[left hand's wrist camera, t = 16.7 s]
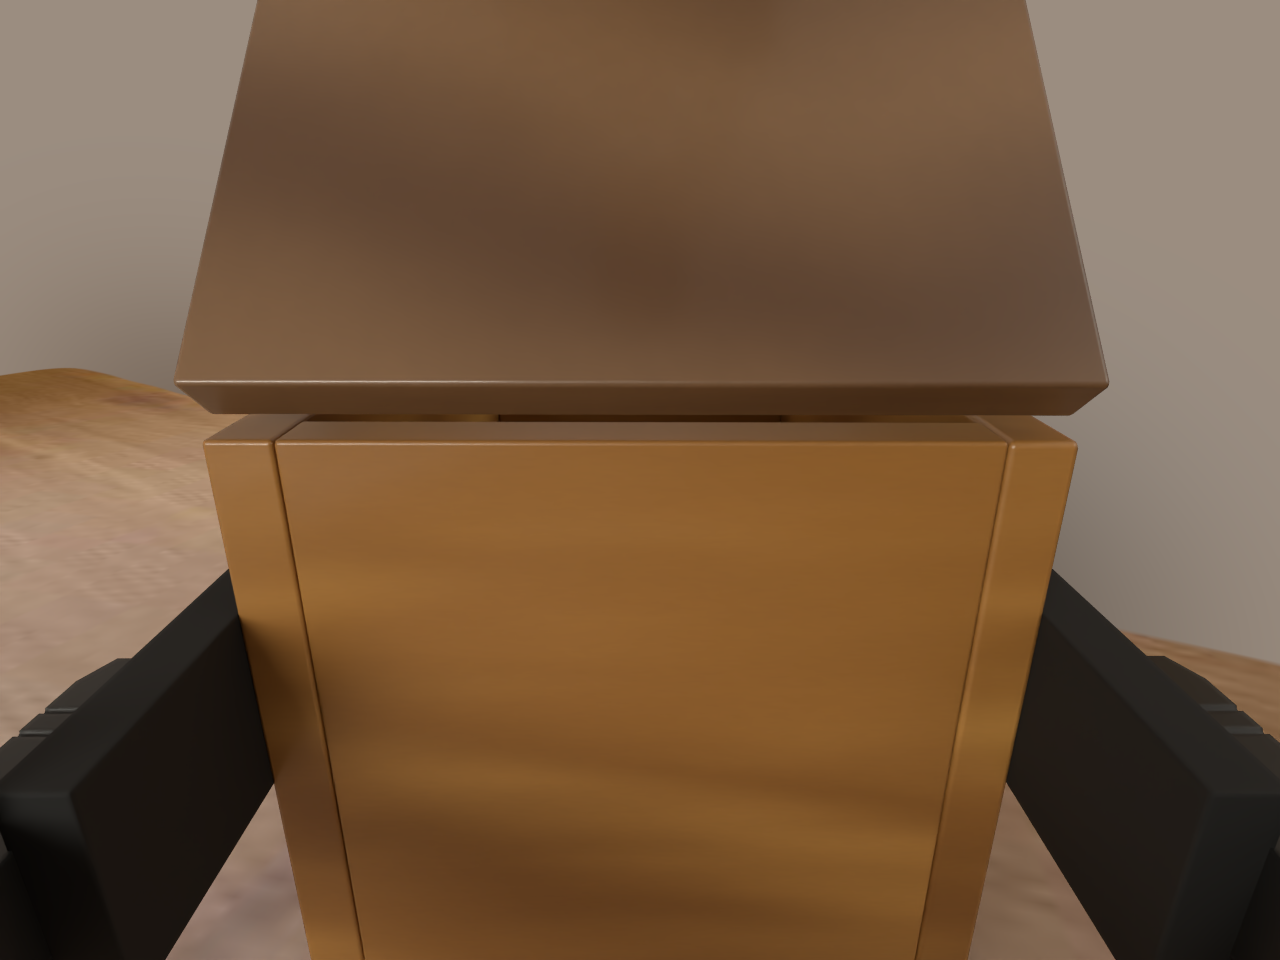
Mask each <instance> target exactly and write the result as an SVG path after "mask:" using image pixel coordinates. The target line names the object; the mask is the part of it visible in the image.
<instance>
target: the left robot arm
mask: <svg viewBox="0 0 1280 960" xmlns="http://www.w3.org/2000/svg"><path fill="white" fill-rule="evenodd" d="M19 732H20V734H19V736H18V737H12V738H11V739H10V740H9V741H7V742H6V743H5V744H4V745H3V746H2V747H1V748H0V960H165V959H166V958H167V956H168V954H169V953H170V951H171V950H172V948H173V946H174V945H175V943H176V941H177V940H178V938H179V937H180V935H181V933H182V932H183V930H184V928H185V927H186V925H187V923H188V922H189V920H190V919H191V917H192V915H193V914H194V912H195V910H196V909H197V907H198V906H199V904H200V902H201V901H202V899H203V897H204V896H205V894H206V893H207V891H208V889H209V888H210V886H211V884H212V883H213V881H214V880H215V878H216V876H217V875H218V873H219V871H220V870H221V868H222V867H223V865H224V863H225V862H226V860H227V858H228V857H229V855H230V854H231V852H232V850H233V849H234V847H235V845H236V844H237V842H238V841H239V839H240V837H241V836H242V834H243V832H244V831H245V829H246V828H247V826H248V824H249V823H250V821H251V819H252V818H253V816H254V815H255V813H256V811H257V810H258V808H259V806H260V805H261V803H262V802H263V800H264V798H265V797H266V795H267V793H268V792H269V790H270V789H271V787H272V785H273V784H274V780H273V776H272V771H271V766H270V761H269V757H268V752H267V747H266V742H265V738H264V733H263V728H262V723H261V719H260V714H259V709H258V704H257V700H256V695H255V690H254V685H253V681H252V676H251V671H250V666H249V662H248V657H247V652H246V647H245V643H244V638H243V633H242V628H241V624H240V619H239V614H238V609H237V605H236V600H235V595H234V590H233V586H232V581H231V576H230V571H229V569H228V570H227V571H226V572H225V573H224V574H222V575H221V576H220V577H219V578H218V579H217V580H216V581H215V582H214V583H213V584H212V585H211V586H209V587H208V588H207V589H206V590H205V591H204V592H203V593H202V594H201V595H200V596H199V597H198V598H196V599H195V600H194V601H193V602H192V603H191V604H190V605H189V606H188V607H187V608H186V609H185V610H183V611H182V612H181V613H180V614H179V615H178V616H177V617H176V618H175V619H174V620H173V621H172V622H171V623H169V624H168V625H167V626H166V627H165V628H164V629H163V630H162V631H161V632H160V633H159V634H158V635H156V636H155V637H154V638H153V639H152V640H151V641H150V642H149V643H148V644H147V645H146V646H145V647H143V648H142V649H141V650H140V651H139V652H138V653H137V654H136V655H135V656H134V657H133V658H125V659H116V660H114V661H112V662H110V663H109V664H107V665H105V666H103V667H101V668H100V669H98V670H96V671H94V672H92V673H90V674H89V675H87V676H85V677H83V678H81V679H80V680H78V681H76V682H75V683H74V684H73V685H71V686H70V687H69V688H68V689H67V690H66V691H65V692H63V693H62V694H61V695H60V696H59V697H58V698H57V699H55V700H54V701H53V702H52V703H51V704H50V705H49V706H47V707H46V708H45V713H44V714H38V715H37V716H36V717H35V718H34V719H33V720H31V721H30V722H29V723H28V724H27V725H26V726H25V727H23V728H22V729H21V730H20V731H19ZM1006 782H1007V784H1008V786H1009V787H1010V789H1011V791H1012V792H1013V794H1014V795H1015V797H1016V799H1017V800H1018V802H1019V804H1020V805H1021V807H1022V808H1023V810H1024V812H1025V813H1026V815H1027V817H1028V818H1029V820H1030V821H1031V823H1032V825H1033V826H1034V828H1035V830H1036V831H1037V833H1038V834H1039V836H1040V838H1041V839H1042V841H1043V843H1044V844H1045V846H1046V847H1047V849H1048V851H1049V852H1050V854H1051V856H1052V857H1053V859H1054V860H1055V862H1056V864H1057V865H1058V867H1059V869H1060V870H1061V872H1062V873H1063V875H1064V877H1065V878H1066V880H1067V882H1068V883H1069V885H1070V886H1071V888H1072V890H1073V891H1074V893H1075V895H1076V896H1077V898H1078V899H1079V901H1080V903H1081V904H1082V906H1083V908H1084V909H1085V911H1086V912H1087V914H1088V916H1089V917H1090V919H1091V921H1092V922H1093V924H1094V925H1095V927H1096V929H1097V930H1098V932H1099V934H1100V935H1101V937H1102V938H1103V940H1104V942H1105V943H1106V945H1107V947H1108V948H1109V950H1110V951H1111V953H1112V955H1113V956H1114V958H1115V960H1280V743H1279V742H1278V741H1277V740H1276V739H1274V738H1273V737H1272V736H1271V735H1270V734H1264V733H1263V728H1262V727H1261V726H1259V725H1258V724H1257V723H1256V722H1255V721H1254V720H1253V719H1251V718H1250V717H1249V716H1248V715H1247V714H1246V713H1245V712H1243V711H1238V710H1237V706H1236V705H1235V704H1234V703H1233V702H1232V701H1231V700H1230V699H1228V698H1227V697H1226V696H1225V695H1224V694H1223V693H1221V692H1220V691H1219V690H1218V689H1217V688H1216V687H1215V686H1213V685H1212V684H1211V683H1210V682H1209V681H1208V680H1206V679H1205V678H1203V677H1201V676H1200V675H1198V674H1196V673H1194V672H1192V671H1191V670H1189V669H1187V668H1185V667H1183V666H1181V665H1180V664H1178V663H1176V662H1174V661H1172V660H1170V659H1169V658H1167V657H1165V656H1146V655H1145V654H1144V653H1143V652H1142V651H1141V650H1140V649H1138V648H1137V647H1136V646H1135V645H1134V644H1133V643H1132V642H1131V641H1130V640H1129V639H1128V638H1127V637H1126V636H1124V635H1123V634H1122V633H1121V632H1120V631H1119V630H1118V629H1117V628H1116V627H1115V626H1114V625H1113V624H1111V623H1110V622H1109V621H1108V620H1107V619H1106V618H1105V617H1104V616H1103V615H1102V614H1101V613H1100V612H1098V611H1097V610H1096V609H1095V608H1094V607H1093V606H1092V605H1091V604H1090V603H1089V602H1088V601H1086V600H1085V599H1084V598H1083V597H1082V596H1081V595H1080V594H1079V593H1078V592H1077V591H1076V590H1075V589H1074V588H1072V587H1071V586H1070V585H1069V584H1068V583H1067V582H1066V581H1065V580H1064V579H1063V578H1062V577H1060V575H1058V574H1057V573H1056V572H1055V571H1054V570H1053V569H1052V571H1051V575H1050V580H1049V585H1048V589H1047V594H1046V599H1045V603H1044V608H1043V612H1042V617H1041V622H1040V626H1039V631H1038V636H1037V640H1036V645H1035V649H1034V654H1033V659H1032V663H1031V668H1030V673H1029V677H1028V682H1027V687H1026V691H1025V696H1024V700H1023V705H1022V710H1021V714H1020V719H1019V724H1018V728H1017V733H1016V737H1015V742H1014V747H1013V751H1012V756H1011V761H1010V765H1009V770H1008V774H1007V779H1006Z"/></svg>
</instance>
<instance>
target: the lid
mask: <svg viewBox="0 0 1280 960" xmlns="http://www.w3.org/2000/svg"><path fill="white" fill-rule="evenodd" d="M174 384H175V386H177V387H178V388H179V389H180V390H182V391H183V392H184V393H185V394H187V395H188V396H189V397H191V398H192V399H193V400H194V401H196V402H197V403H198V404H200V405H201V406H202V407H203V408H205V409H206V410H207V411H209V412H210V413H212V414H517V415H1043V416H1044V415H1047V416H1050V415H1052V416H1068V415H1071V414H1073V413H1075V412H1076V411H1077V410H1079V409H1080V408H1081V407H1083V406H1084V405H1085V404H1086V403H1088V402H1089V401H1090V400H1092V399H1093V398H1094V397H1096V396H1097V395H1098V394H1099V393H1101V392H1102V391H1103V390H1105V389H1106V388H1107V387H1108V385H1109V378H1108V374H1107V369H1106V365H1105V360H1104V355H1103V351H1102V346H1101V342H1100V337H1099V333H1098V328H1097V324H1096V319H1095V315H1094V310H1093V305H1092V301H1091V296H1090V292H1089V287H1088V283H1087V278H1086V274H1085V269H1084V264H1083V260H1082V255H1081V251H1080V246H1079V242H1078V237H1077V233H1076V228H1075V224H1074V219H1073V214H1072V210H1071V206H1070V201H1069V196H1068V192H1067V187H1066V183H1065V178H1064V173H1063V169H1062V164H1061V160H1060V155H1059V151H1058V146H1057V142H1056V137H1055V132H1054V128H1053V123H1052V119H1051V114H1050V110H1049V105H1048V101H1047V96H1046V91H1045V87H1044V82H1043V78H1042V73H1041V69H1040V64H1039V60H1038V55H1037V51H1036V46H1035V41H1034V37H1033V32H1032V28H1031V23H1030V19H1029V14H1028V10H1027V5H1026V0H257V5H256V9H255V14H254V18H253V23H252V27H251V32H250V37H249V41H248V46H247V50H246V55H245V59H244V64H243V68H242V73H241V77H240V82H239V86H238V91H237V95H236V100H235V104H234V109H233V113H232V118H231V122H230V127H229V132H228V136H227V140H226V145H225V150H224V154H223V159H222V163H221V168H220V172H219V177H218V181H217V186H216V190H215V195H214V199H213V204H212V208H211V213H210V217H209V222H208V226H207V231H206V236H205V240H204V245H203V249H202V254H201V258H200V263H199V267H198V272H197V276H196V281H195V285H194V290H193V294H192V299H191V303H190V308H189V313H188V317H187V321H186V326H185V330H184V335H183V339H182V344H181V349H180V353H179V358H178V362H177V367H176V371H175V376H174Z"/></svg>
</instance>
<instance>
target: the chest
mask: <svg viewBox="0 0 1280 960" xmlns="http://www.w3.org/2000/svg"><path fill="white" fill-rule="evenodd" d="M203 448H204V453H205V457H206V462H207V467H208V472H209V476H210V481H211V486H212V491H213V495H214V500H215V505H216V510H217V514H218V519H219V524H220V529H221V533H222V538H223V543H224V548H225V552H226V557H227V562H228V567H229V571H230V576H231V581H232V586H233V590H234V595H235V600H236V605H237V609H238V614H239V619H240V624H241V628H242V633H243V638H244V643H245V647H246V652H247V657H248V662H249V666H250V671H251V676H252V681H253V685H254V690H255V695H256V700H257V704H258V709H259V714H260V719H261V723H262V728H263V733H264V738H265V742H266V747H267V752H268V757H269V761H270V766H271V771H272V776H273V780H274V785H275V790H276V795H277V799H278V804H279V809H280V814H281V818H282V823H283V828H284V833H285V837H286V842H287V847H288V852H289V856H290V861H291V866H292V871H293V875H294V880H295V885H296V890H297V894H298V899H299V904H300V909H301V913H302V918H303V923H304V928H305V932H306V937H307V942H308V947H309V951H310V956H311V960H968V955H969V950H970V946H971V941H972V936H973V932H974V927H975V923H976V918H977V913H978V909H979V904H980V899H981V895H982V890H983V886H984V881H985V876H986V872H987V867H988V862H989V858H990V853H991V849H992V844H993V839H994V835H995V830H996V825H997V821H998V816H999V811H1000V807H1001V802H1002V798H1003V793H1004V788H1005V784H1006V779H1007V774H1008V770H1009V765H1010V761H1011V756H1012V751H1013V747H1014V742H1015V737H1016V733H1017V728H1018V724H1019V719H1020V714H1021V710H1022V705H1023V700H1024V696H1025V691H1026V687H1027V682H1028V677H1029V673H1030V668H1031V663H1032V659H1033V654H1034V649H1035V645H1036V640H1037V636H1038V631H1039V626H1040V622H1041V617H1042V612H1043V608H1044V603H1045V599H1046V594H1047V589H1048V585H1049V580H1050V575H1051V571H1052V566H1053V562H1054V557H1055V552H1056V548H1057V543H1058V538H1059V534H1060V529H1061V524H1062V520H1063V515H1064V510H1065V506H1066V501H1067V497H1068V492H1069V487H1070V483H1071V478H1072V474H1073V469H1074V464H1075V460H1076V455H1077V450H1078V447H1077V443H1076V442H1075V441H1073V440H1072V439H1070V438H1068V437H1067V436H1065V435H1063V434H1061V433H1060V432H1058V431H1056V430H1055V429H1053V428H1051V427H1050V426H1048V425H1046V424H1044V423H1043V422H1041V421H1039V420H1038V419H1036V418H1034V417H1033V416H1031V415H517V414H249V415H247V416H245V417H243V418H242V419H240V420H238V421H237V422H235V423H233V424H231V425H230V426H228V427H226V428H225V429H223V430H221V431H220V432H218V433H216V434H214V435H213V436H211V437H209V438H208V439H206V440H204V442H203Z"/></svg>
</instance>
